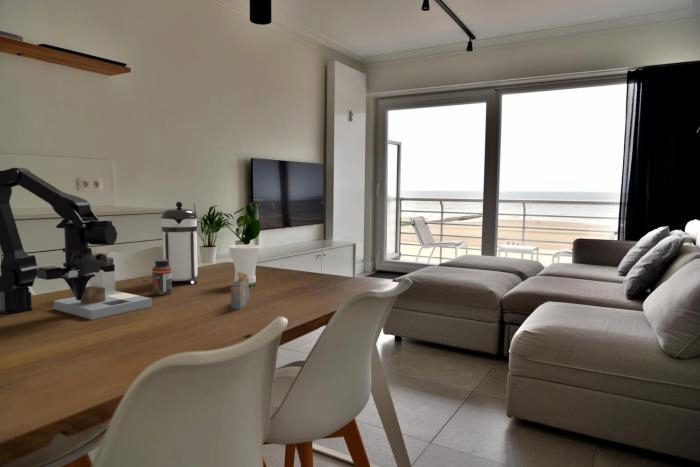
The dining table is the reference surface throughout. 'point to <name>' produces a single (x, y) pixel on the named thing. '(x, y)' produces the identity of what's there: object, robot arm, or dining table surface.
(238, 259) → the cup
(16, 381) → the dining table surface
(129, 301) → the trap deck
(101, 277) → the jar
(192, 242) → the coffee press
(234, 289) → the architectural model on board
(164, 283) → the supplement bottle
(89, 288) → the walnut block
